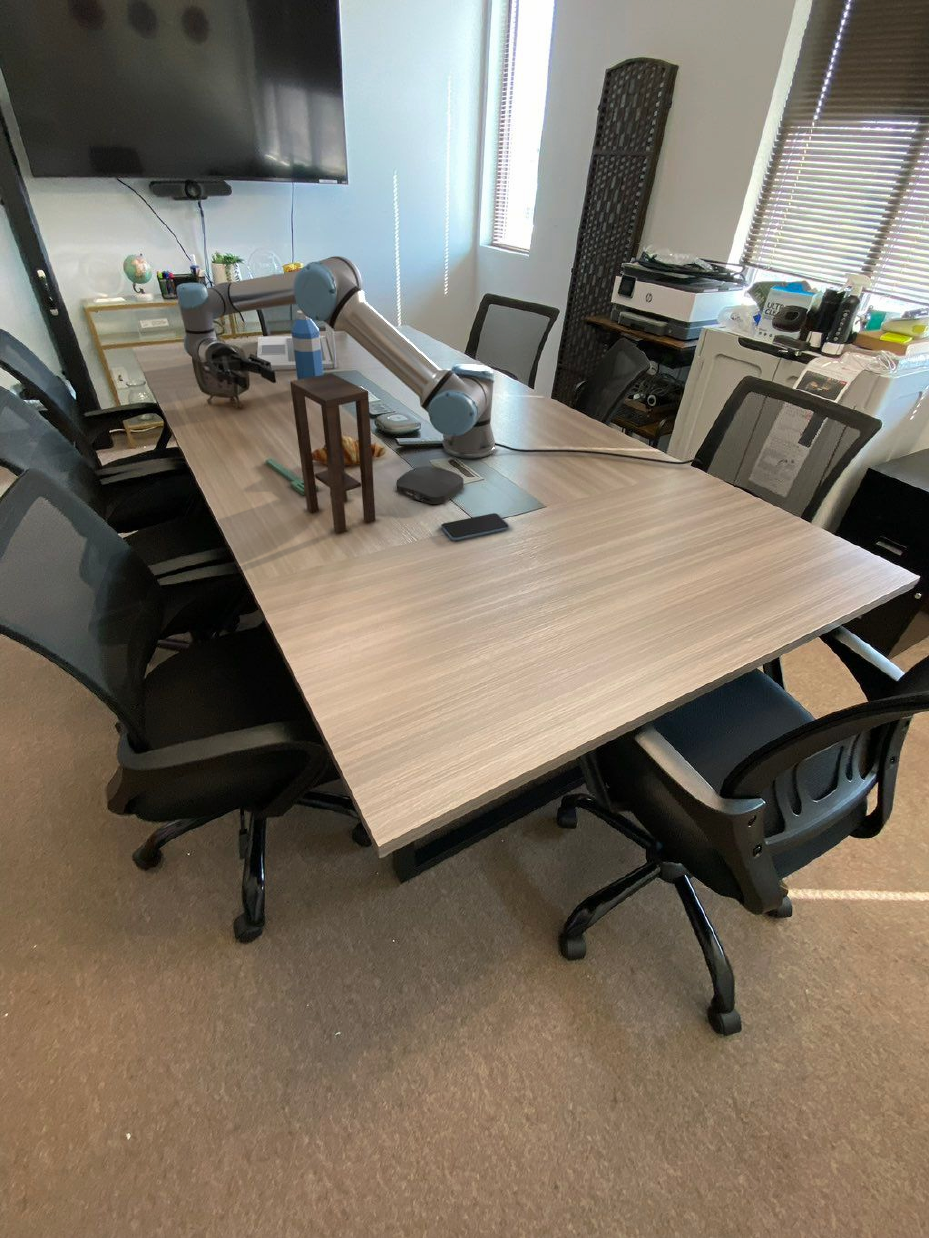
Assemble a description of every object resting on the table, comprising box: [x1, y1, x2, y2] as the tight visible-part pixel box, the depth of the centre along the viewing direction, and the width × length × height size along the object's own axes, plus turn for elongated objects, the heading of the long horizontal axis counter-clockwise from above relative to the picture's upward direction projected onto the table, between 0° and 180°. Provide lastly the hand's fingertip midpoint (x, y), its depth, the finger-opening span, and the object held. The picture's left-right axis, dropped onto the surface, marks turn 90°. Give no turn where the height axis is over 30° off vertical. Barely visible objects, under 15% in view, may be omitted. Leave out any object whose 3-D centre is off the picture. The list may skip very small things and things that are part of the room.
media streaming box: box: [396, 465, 465, 505], centre depth 154 cm, size 15×15×3 cm
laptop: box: [256, 322, 338, 371], centre depth 232 cm, size 40×29×28 cm
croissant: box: [312, 435, 387, 467], centre depth 164 cm, size 21×10×8 cm, turn 111°
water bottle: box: [290, 309, 324, 380], centre depth 200 cm, size 9×9×25 cm
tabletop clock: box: [191, 319, 250, 409], centre depth 187 cm, size 14×9×25 cm, turn 76°
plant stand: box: [289, 372, 376, 535], centre depth 133 cm, size 14×10×30 cm
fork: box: [265, 458, 319, 496], centre depth 156 cm, size 22×4×1 cm, turn 41°
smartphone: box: [440, 512, 510, 541], centre depth 140 cm, size 7×1×15 cm
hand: (259, 380), depth 147 cm, fingers open, 7 cm apart
